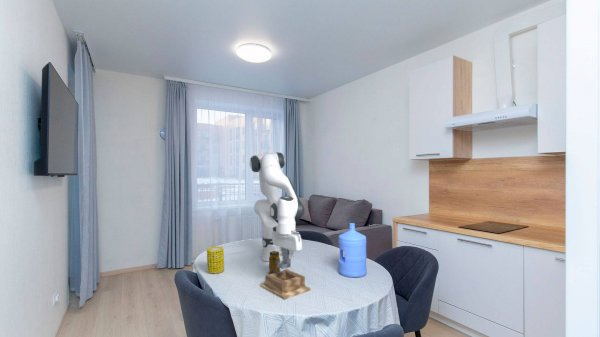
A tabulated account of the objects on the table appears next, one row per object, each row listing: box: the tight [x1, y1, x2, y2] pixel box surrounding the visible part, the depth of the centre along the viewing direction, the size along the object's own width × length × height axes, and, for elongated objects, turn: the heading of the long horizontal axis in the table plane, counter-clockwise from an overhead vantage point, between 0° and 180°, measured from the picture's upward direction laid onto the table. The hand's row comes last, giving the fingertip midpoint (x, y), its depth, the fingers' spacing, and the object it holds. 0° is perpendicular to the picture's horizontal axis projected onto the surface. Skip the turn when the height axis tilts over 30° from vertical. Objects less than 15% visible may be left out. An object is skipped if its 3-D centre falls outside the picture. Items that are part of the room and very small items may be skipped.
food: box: [206, 245, 225, 275], centre depth 168 cm, size 15×12×10 cm
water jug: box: [338, 222, 368, 278], centre depth 165 cm, size 16×16×28 cm
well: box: [259, 268, 311, 301], centre depth 144 cm, size 16×20×6 cm
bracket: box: [278, 248, 292, 270], centre depth 144 cm, size 5×4×10 cm
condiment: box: [266, 251, 281, 275], centre depth 164 cm, size 7×8×12 cm
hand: (286, 257), depth 145 cm, fingers closed on bracket, 4 cm apart
